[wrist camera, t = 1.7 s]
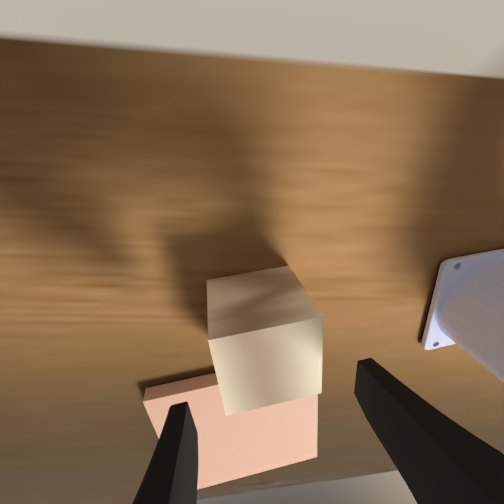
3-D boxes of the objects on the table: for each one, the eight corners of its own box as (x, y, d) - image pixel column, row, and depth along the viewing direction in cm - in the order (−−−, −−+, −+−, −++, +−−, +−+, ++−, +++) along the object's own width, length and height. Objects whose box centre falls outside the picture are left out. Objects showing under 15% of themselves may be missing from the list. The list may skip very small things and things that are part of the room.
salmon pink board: (312, 351, 19) (318, 362, 18) (312, 444, 24) (316, 456, 23) (146, 388, 17) (142, 401, 16) (183, 479, 22) (183, 493, 21)
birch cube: (288, 264, 15) (323, 316, 11) (291, 327, 18) (321, 393, 13) (206, 279, 15) (207, 340, 10) (219, 342, 17) (225, 416, 12)
